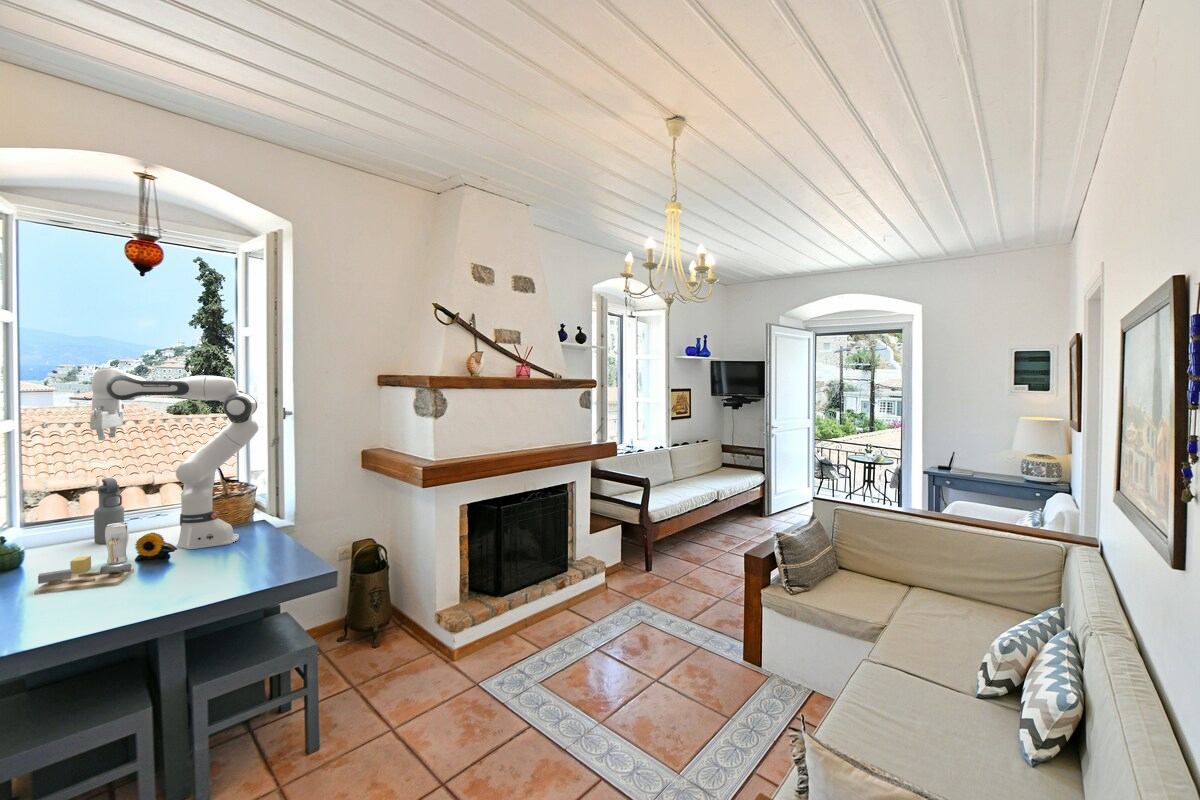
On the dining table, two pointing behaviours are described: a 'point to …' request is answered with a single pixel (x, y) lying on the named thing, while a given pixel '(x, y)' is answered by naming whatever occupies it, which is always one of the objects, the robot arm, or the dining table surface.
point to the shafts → (68, 573)
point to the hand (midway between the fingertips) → (107, 438)
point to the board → (84, 582)
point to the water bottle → (107, 509)
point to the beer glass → (116, 542)
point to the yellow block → (80, 564)
